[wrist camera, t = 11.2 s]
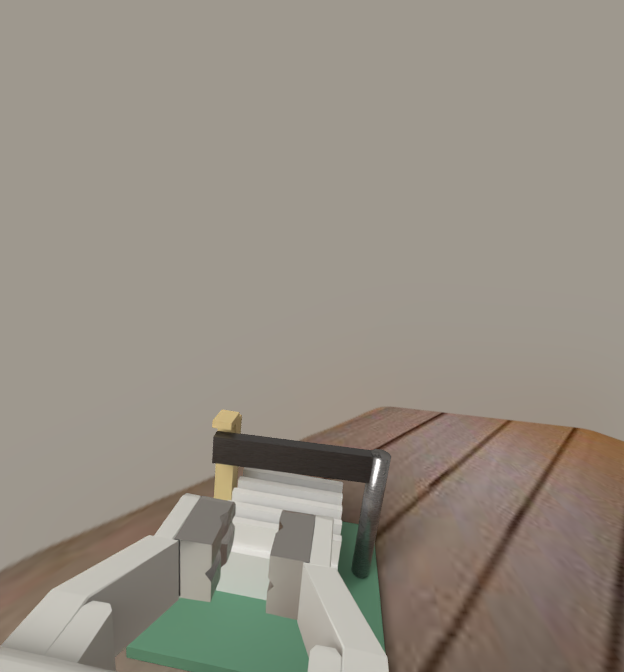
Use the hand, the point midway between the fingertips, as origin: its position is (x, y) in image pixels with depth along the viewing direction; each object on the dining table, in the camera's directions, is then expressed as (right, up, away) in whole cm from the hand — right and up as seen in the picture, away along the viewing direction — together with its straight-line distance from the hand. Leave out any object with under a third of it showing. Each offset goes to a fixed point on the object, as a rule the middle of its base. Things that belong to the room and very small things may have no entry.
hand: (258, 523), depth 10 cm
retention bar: (-1, -20, +27) cm, 34 cm away
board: (-2, -21, +26) cm, 34 cm away
